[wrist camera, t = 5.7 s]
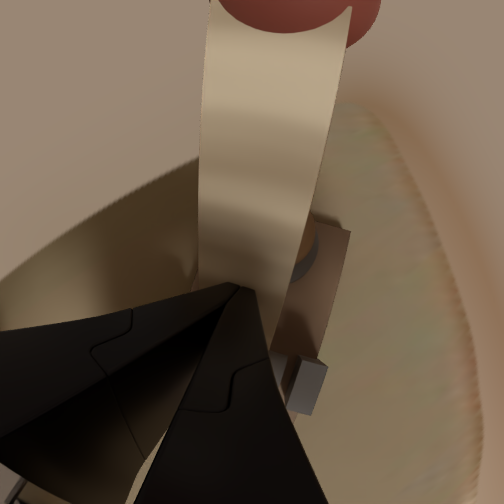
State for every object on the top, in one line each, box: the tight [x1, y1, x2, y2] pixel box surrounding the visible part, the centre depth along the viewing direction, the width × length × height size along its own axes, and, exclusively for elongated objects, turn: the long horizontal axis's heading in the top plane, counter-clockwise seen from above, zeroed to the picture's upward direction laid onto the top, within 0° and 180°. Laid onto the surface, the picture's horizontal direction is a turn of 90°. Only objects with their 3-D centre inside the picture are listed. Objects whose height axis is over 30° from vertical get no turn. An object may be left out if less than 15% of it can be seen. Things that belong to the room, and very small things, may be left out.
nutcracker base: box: [190, 211, 351, 424], centre depth 14 cm, size 14×8×6 cm, turn 162°
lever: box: [198, 0, 381, 388], centre depth 9 cm, size 4×4×17 cm
